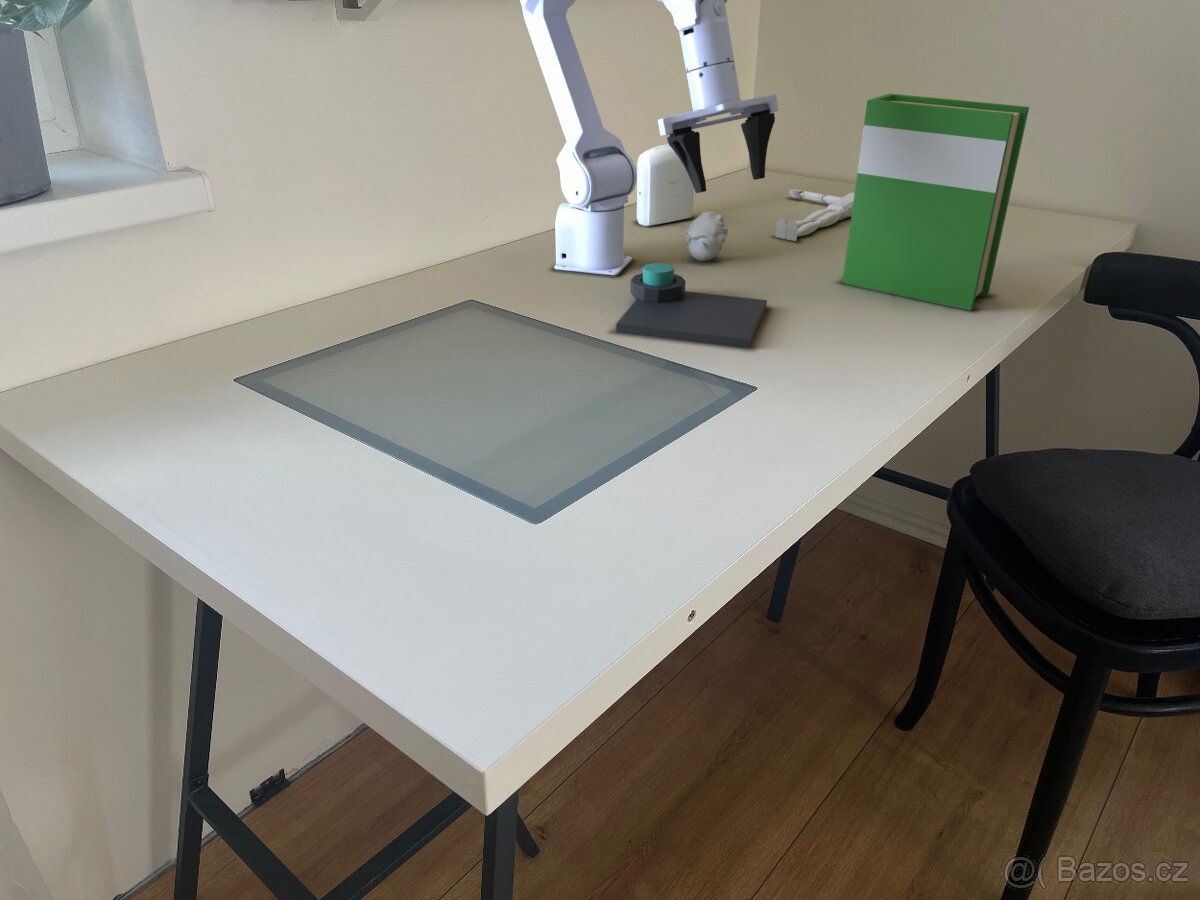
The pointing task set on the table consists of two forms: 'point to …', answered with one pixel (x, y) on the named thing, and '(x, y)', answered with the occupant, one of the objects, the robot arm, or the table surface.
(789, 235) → the artist's mannequin
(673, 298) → the scale
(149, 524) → the table surface
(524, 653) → the table surface
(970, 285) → the hardback book
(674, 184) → the photo printer
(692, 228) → the white rounded lumpy piece
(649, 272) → the button
